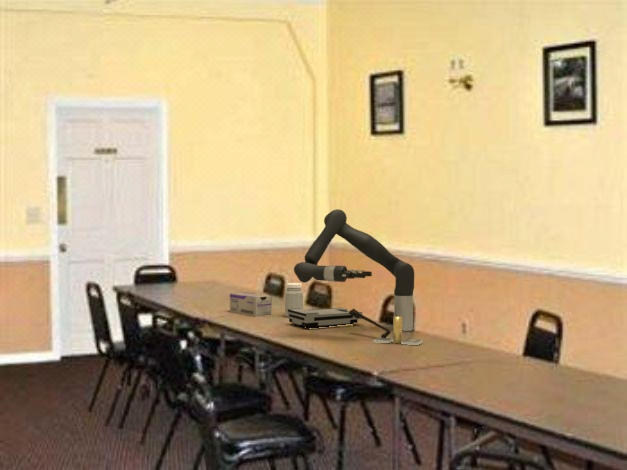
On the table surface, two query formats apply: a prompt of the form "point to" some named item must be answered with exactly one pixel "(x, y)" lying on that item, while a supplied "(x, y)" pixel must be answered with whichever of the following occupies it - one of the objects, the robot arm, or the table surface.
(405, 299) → the robot arm
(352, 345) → the table surface
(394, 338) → the link pin
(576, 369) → the table surface
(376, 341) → the metal plates
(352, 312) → the wrench
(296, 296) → the jar
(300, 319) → the game console
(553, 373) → the table surface
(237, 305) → the surgical sutures box
